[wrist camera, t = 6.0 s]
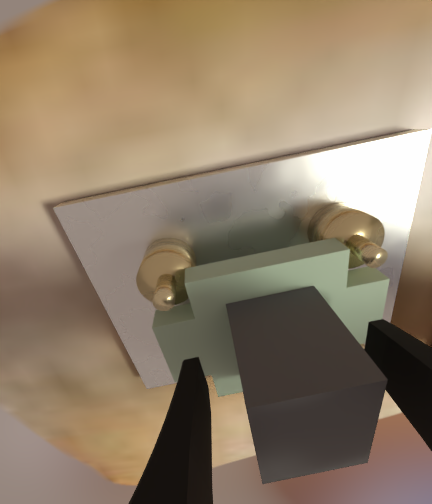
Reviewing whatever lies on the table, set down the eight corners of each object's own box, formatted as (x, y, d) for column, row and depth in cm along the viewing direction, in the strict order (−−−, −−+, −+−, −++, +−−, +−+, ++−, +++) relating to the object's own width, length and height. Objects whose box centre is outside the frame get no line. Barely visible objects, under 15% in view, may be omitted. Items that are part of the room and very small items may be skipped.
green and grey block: (377, 228, 11) (535, 313, 6) (360, 347, 15) (448, 462, 10) (142, 277, 11) (100, 403, 6) (184, 383, 15) (181, 517, 10)
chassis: (413, 129, 12) (524, 129, 8) (377, 329, 19) (428, 384, 15) (62, 202, 12) (-1, 238, 8) (149, 376, 19) (137, 444, 15)
